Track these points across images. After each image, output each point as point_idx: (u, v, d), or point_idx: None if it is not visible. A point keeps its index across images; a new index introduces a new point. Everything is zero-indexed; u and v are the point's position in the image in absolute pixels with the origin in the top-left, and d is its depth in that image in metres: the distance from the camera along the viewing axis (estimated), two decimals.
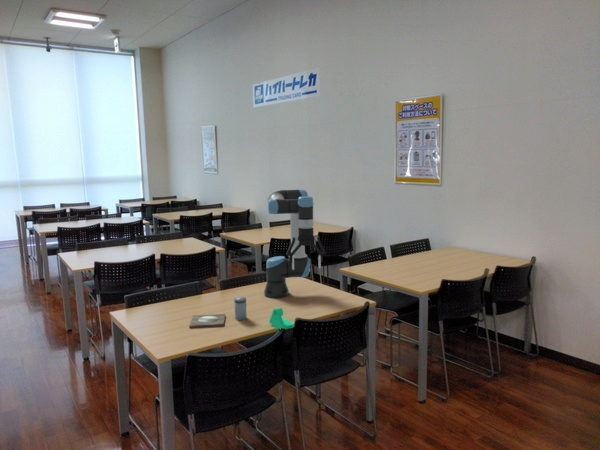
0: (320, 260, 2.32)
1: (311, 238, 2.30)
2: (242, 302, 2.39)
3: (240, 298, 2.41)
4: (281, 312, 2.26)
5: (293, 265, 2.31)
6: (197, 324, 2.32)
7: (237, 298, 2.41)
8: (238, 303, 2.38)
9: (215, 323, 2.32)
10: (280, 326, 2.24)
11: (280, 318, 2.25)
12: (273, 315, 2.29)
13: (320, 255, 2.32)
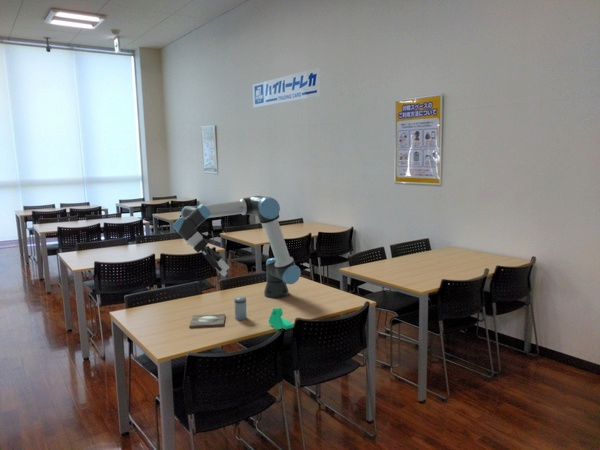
0: (217, 270, 2.30)
1: None
2: (242, 302, 2.39)
3: (240, 298, 2.41)
4: (280, 312, 2.26)
5: (223, 268, 2.44)
6: (197, 324, 2.32)
7: (237, 298, 2.41)
8: (238, 303, 2.38)
9: (215, 323, 2.32)
10: (280, 326, 2.24)
11: (280, 318, 2.24)
12: (272, 315, 2.28)
13: None
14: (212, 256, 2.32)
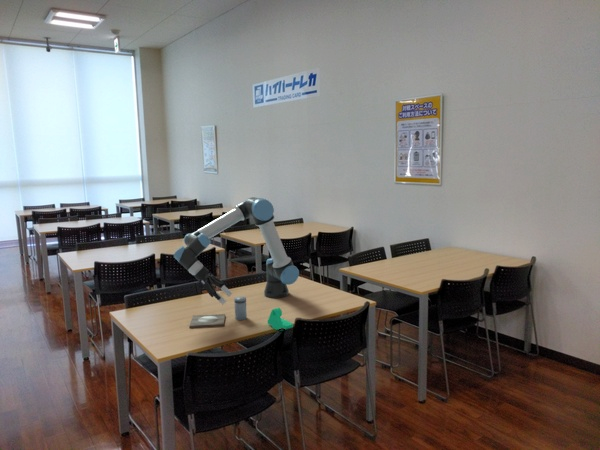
0: (217, 299, 2.34)
1: None
2: (242, 302, 2.39)
3: (240, 298, 2.41)
4: (280, 312, 2.26)
5: (226, 294, 2.48)
6: (197, 324, 2.32)
7: (237, 298, 2.41)
8: (238, 303, 2.38)
9: (215, 323, 2.32)
10: (279, 326, 2.23)
11: (279, 318, 2.24)
12: (272, 316, 2.28)
13: None
14: (211, 284, 2.36)
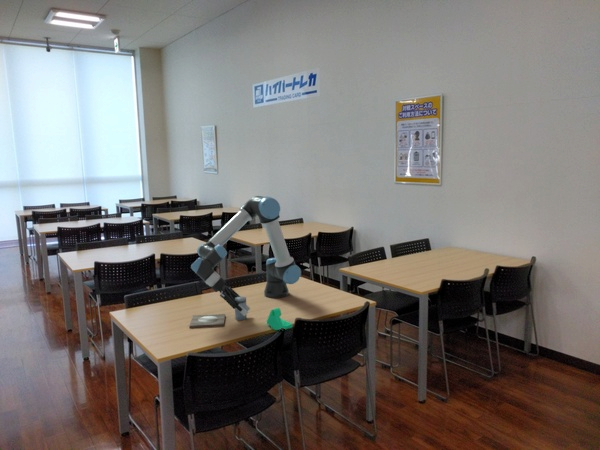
0: (238, 310, 2.39)
1: None
2: (242, 302, 2.39)
3: (240, 298, 2.41)
4: (279, 313, 2.26)
5: None
6: (197, 324, 2.32)
7: (237, 298, 2.41)
8: (238, 303, 2.38)
9: (215, 323, 2.32)
10: (279, 327, 2.23)
11: (278, 319, 2.24)
12: (271, 316, 2.28)
13: None
14: (231, 296, 2.39)
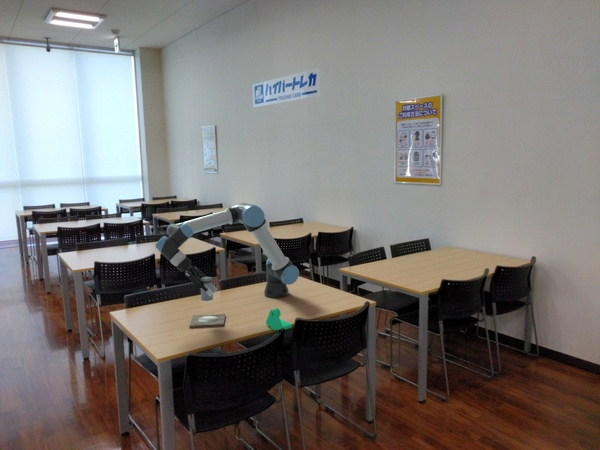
0: None
1: None
2: (208, 282, 2.32)
3: (206, 278, 2.35)
4: (278, 313, 2.25)
5: None
6: (197, 324, 2.32)
7: (203, 278, 2.35)
8: (204, 283, 2.32)
9: (215, 323, 2.32)
10: (278, 327, 2.23)
11: (278, 319, 2.23)
12: (270, 316, 2.27)
13: None
14: (196, 276, 2.32)
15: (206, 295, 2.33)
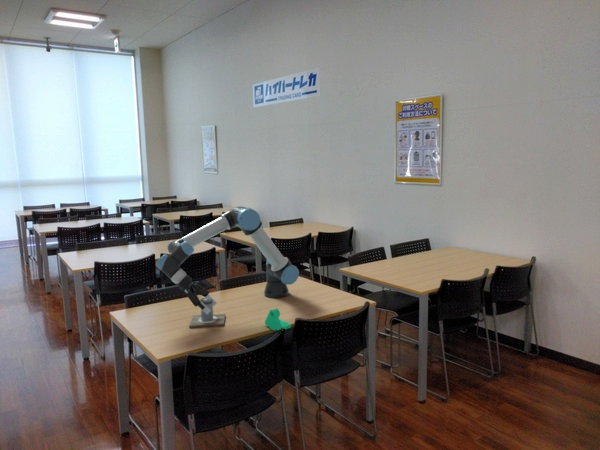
0: (201, 308, 2.31)
1: None
2: (208, 303, 2.34)
3: (206, 299, 2.36)
4: (278, 313, 2.25)
5: None
6: (197, 324, 2.32)
7: (203, 299, 2.36)
8: None
9: (215, 323, 2.32)
10: (278, 327, 2.22)
11: (277, 319, 2.23)
12: (269, 316, 2.27)
13: None
14: (195, 294, 2.32)
15: (206, 316, 2.34)
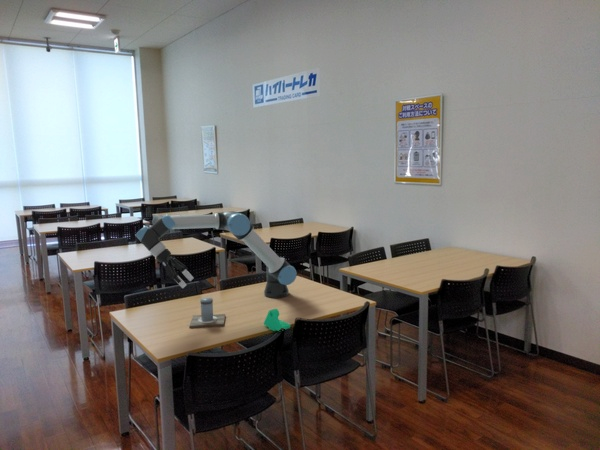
0: (177, 282, 2.31)
1: None
2: (208, 303, 2.33)
3: (206, 299, 2.36)
4: (277, 313, 2.25)
5: (187, 278, 2.45)
6: (197, 324, 2.32)
7: (203, 299, 2.36)
8: (204, 304, 2.33)
9: (215, 323, 2.32)
10: (277, 327, 2.22)
11: (277, 319, 2.23)
12: (269, 317, 2.26)
13: None
14: (173, 267, 2.33)
15: (206, 316, 2.34)
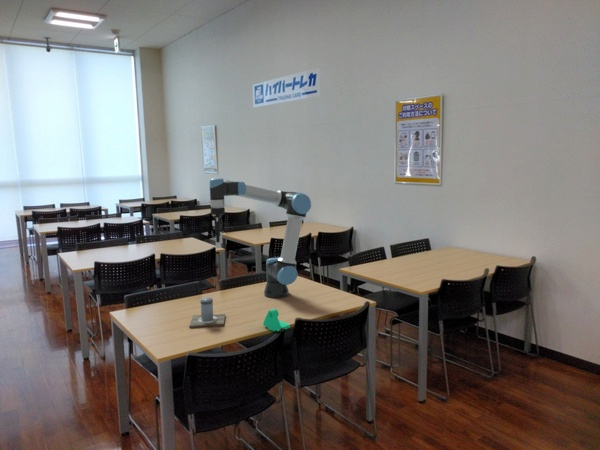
0: (215, 240, 2.43)
1: (215, 218, 2.46)
2: (208, 303, 2.33)
3: (206, 299, 2.36)
4: (277, 313, 2.25)
5: None
6: (197, 324, 2.32)
7: (203, 299, 2.36)
8: (204, 304, 2.33)
9: (215, 323, 2.32)
10: (277, 328, 2.22)
11: (276, 319, 2.23)
12: (268, 317, 2.26)
13: (216, 236, 2.43)
14: (220, 226, 2.45)
15: (206, 316, 2.34)
